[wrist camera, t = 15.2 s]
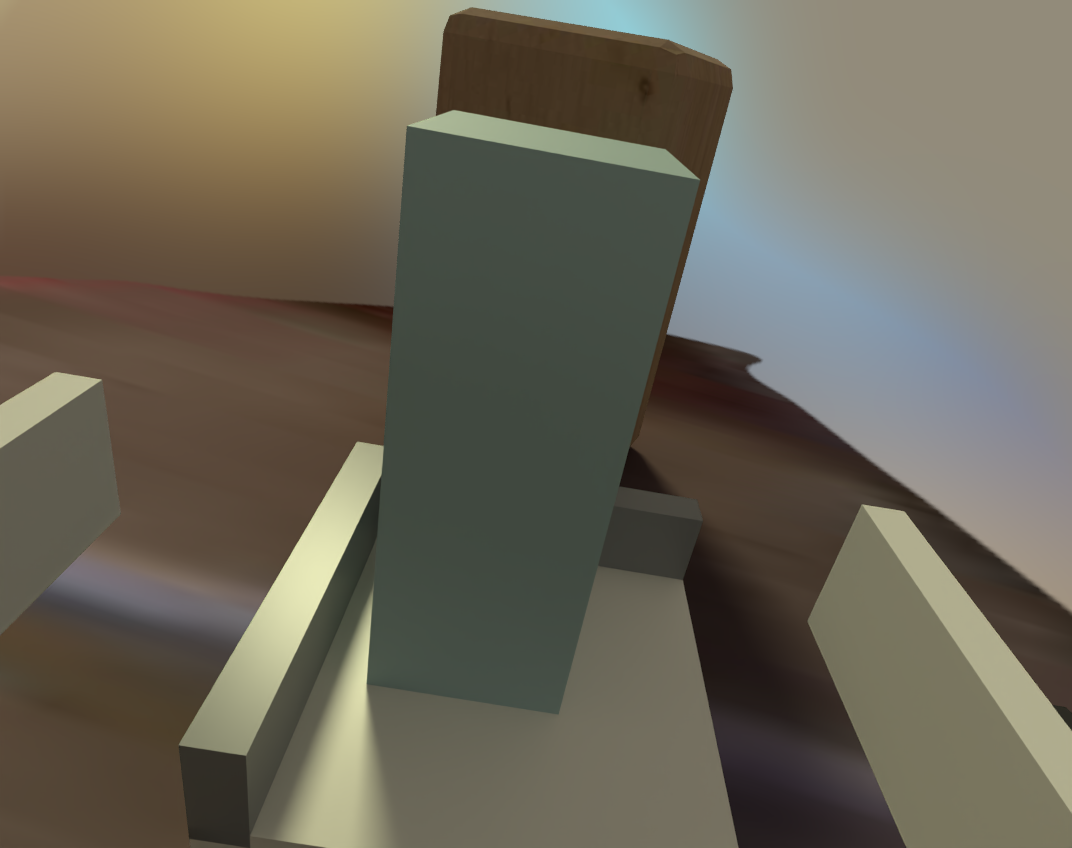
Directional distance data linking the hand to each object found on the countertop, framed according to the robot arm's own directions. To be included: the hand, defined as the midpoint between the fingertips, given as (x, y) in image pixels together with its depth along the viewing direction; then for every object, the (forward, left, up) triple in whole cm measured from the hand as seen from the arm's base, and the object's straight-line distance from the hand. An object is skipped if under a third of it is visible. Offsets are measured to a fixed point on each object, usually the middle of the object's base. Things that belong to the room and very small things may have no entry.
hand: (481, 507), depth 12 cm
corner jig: (+1, +7, -11) cm, 13 cm away
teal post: (0, +8, -10) cm, 13 cm away
